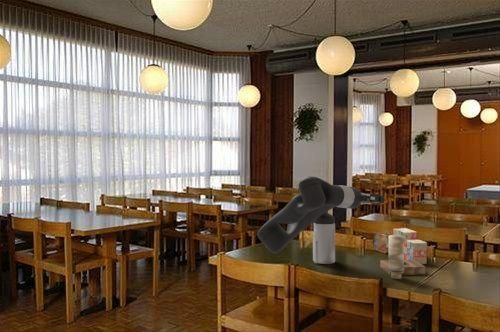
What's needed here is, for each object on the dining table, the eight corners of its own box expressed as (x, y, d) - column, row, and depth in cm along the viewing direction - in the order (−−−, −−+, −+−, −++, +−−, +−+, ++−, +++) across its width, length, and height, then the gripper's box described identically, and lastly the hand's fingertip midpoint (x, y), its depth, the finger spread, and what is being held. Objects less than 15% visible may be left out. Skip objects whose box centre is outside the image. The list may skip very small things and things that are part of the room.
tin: (372, 248, 234) (372, 231, 233) (378, 248, 235) (378, 231, 234) (387, 255, 219) (387, 237, 219) (394, 254, 220) (394, 236, 220)
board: (390, 275, 184) (390, 267, 184) (380, 267, 196) (380, 260, 196) (425, 274, 185) (425, 266, 185) (413, 266, 197) (413, 259, 197)
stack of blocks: (427, 264, 202) (427, 235, 201) (413, 264, 201) (413, 236, 201) (406, 253, 223) (405, 227, 222) (393, 253, 222) (393, 227, 222)
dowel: (391, 280, 177) (391, 237, 177) (386, 276, 183) (386, 235, 183) (406, 279, 178) (406, 237, 177) (400, 275, 183) (400, 234, 183)
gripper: (328, 207, 166) (357, 210, 176) (361, 208, 155) (390, 211, 165) (329, 186, 167) (357, 190, 177) (362, 185, 156) (390, 189, 166)
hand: (373, 200), depth 171 cm, fingers open, 8 cm apart
